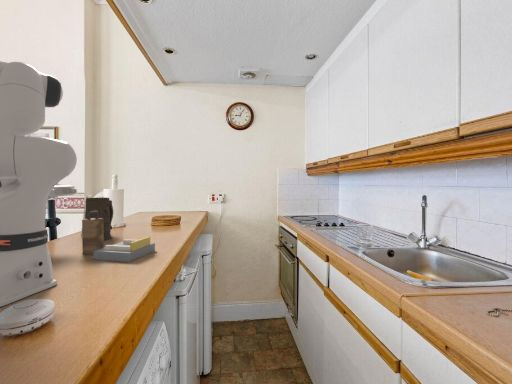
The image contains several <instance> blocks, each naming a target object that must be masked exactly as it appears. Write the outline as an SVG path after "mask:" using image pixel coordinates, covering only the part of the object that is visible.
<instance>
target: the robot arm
mask: <svg viewBox="0 0 512 384" xmlns="http://www.w3.org/2000/svg"><path fill="white" fill-rule="evenodd" d="M63 95H64V91H63V87H62V82H60V80H59V79H58V78H56V77H55V76H52V75H50V74H45V73H42V72H40V71H38V70H37V69H36V68H35V67H33V66H32V65H30V64H28V63H25V62H22V61H11V62H6V61H0V308H1V307H3V306H6V305H9V304H11V303H14V302H17V301H19V300H22V299H25V298H27V297H29V296H31V295H35V294H37V293H39V292H42V291H44V290H47V289H50V288H52V287H54V286H57V285H58V282H57V281H58V280H57V279H55V278H54V270H53V264H52V257H51V253H50V251H49V249H48V246H47V243H48V242H49V233H48V229H47V228H46V213H47V204H48V200H51V199H57V198H59V197H64V196H66V197H67V196H74V195H75V194H77V193H78V189H77V188H75V187H76V186H74V185H71V184H61V183H60V182H61V181H62V180H64V179H65V178H66V177H68V176H69V175H71V174H72V172H74V170H75V168H76V165H77V160H78V159H77V154H76V152H75V150H74V148H73V146H72V145H71V144H70V143H68V142H67V141H63V140H60V139H54V138H49V137H40V136H29V135H31V134H34V133H36V132H38V131H39V130H40V129H41V128H42V127H43V126H44V124H45V122H46V108H55V107H57V106H58V105H59V103H61V101H62V99H63ZM59 183H60V184H59Z"/></svg>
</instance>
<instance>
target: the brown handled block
mask: <svg viewBox="0 0 512 384" xmlns="http://www.w3.org/2000/svg"><path fill="white" fill-rule="evenodd" d="M98 213H99V212H98V211H90V212H88V213H87V219H83V218H82V219H81V226H82V227H81V232H82V236H81V237H82V255H88V256H89V255H90V256H94V251H95V250H98V249H101V248H105V240H104V221H103V218H99V215H98ZM92 214H95V218H91V215H92Z"/></svg>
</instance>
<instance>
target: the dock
mask: <svg viewBox="0 0 512 384" xmlns="http://www.w3.org/2000/svg"><path fill="white" fill-rule="evenodd" d="M153 252H156V243H155V242H151V236H146V237H144V238H143V237H142V238H140V239H127V238H125V239H122V241H120V242H118V243H117V242H116V243H114V244H104V248H101V249H98V250H95V251H94V255H93V260H97V261H112V262H127V263H130V262H133V261H135V260H137V259H140V258H142V257H144V256H147V255H148V254H151V253H153Z"/></svg>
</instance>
